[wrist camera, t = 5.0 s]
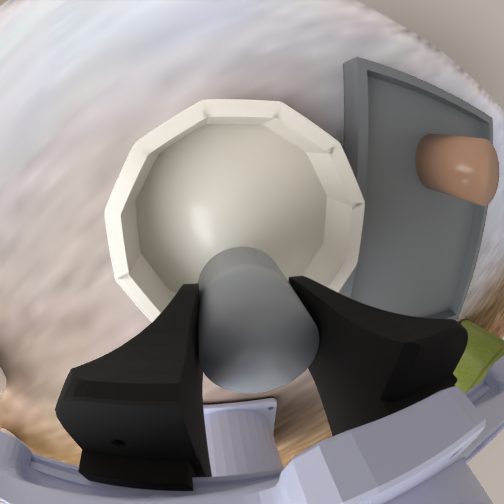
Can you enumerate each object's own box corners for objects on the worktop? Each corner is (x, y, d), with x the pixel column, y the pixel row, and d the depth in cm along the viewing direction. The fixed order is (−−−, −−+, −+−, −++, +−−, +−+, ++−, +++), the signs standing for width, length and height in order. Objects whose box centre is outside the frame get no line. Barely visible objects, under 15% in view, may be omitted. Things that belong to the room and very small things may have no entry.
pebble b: (447, 191, 15) (495, 207, 11) (413, 187, 14) (466, 203, 10) (450, 139, 14) (500, 146, 10) (416, 128, 13) (471, 131, 9)
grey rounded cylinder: (281, 316, 13) (312, 382, 9) (202, 325, 12) (207, 399, 8) (282, 243, 12) (325, 294, 8) (192, 251, 11) (189, 310, 7)
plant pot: (485, 311, 23) (530, 348, 15) (446, 373, 26) (482, 414, 18) (459, 298, 20) (518, 345, 12) (409, 374, 23) (452, 429, 15)
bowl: (321, 302, 17) (344, 331, 14) (143, 316, 15) (134, 351, 12) (336, 119, 13) (369, 114, 10) (121, 119, 11) (99, 110, 8)
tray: (447, 311, 20) (457, 319, 19) (321, 343, 18) (329, 356, 17) (479, 117, 14) (492, 118, 13) (343, 63, 12) (356, 57, 10)
